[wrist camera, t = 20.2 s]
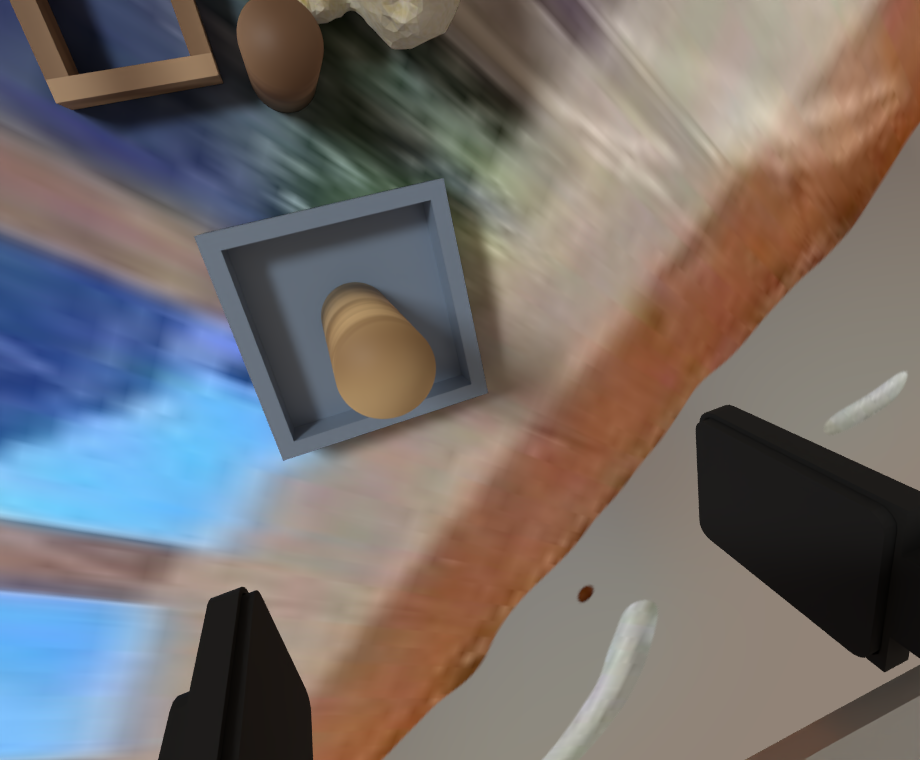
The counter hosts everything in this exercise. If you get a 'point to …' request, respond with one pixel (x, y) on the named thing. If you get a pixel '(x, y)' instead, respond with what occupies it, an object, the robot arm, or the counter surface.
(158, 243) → the counter surface
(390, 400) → the dowel
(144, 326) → the counter surface
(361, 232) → the tray
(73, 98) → the dowel socket
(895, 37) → the counter surface
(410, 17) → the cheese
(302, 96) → the peg
